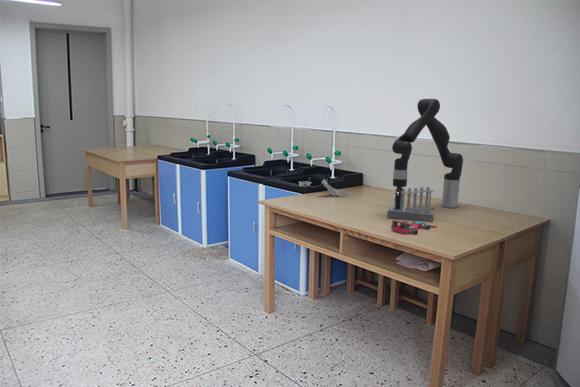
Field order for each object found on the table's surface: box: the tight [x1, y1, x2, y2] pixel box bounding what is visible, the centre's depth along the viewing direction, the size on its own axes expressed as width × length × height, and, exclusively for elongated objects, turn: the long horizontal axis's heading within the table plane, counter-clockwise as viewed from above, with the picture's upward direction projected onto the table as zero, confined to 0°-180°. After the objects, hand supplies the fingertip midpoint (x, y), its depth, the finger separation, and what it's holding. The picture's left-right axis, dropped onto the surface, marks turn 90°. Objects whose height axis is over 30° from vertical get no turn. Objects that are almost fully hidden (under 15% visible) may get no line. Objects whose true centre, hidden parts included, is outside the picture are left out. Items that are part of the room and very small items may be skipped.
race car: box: [390, 219, 437, 236], centre depth 243 cm, size 14×6×25 cm
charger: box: [393, 197, 403, 211], centre depth 267 cm, size 4×4×8 cm
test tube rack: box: [402, 186, 436, 210], centre depth 288 cm, size 25×4×13 cm, turn 113°
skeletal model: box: [321, 178, 357, 197], centre depth 325 cm, size 16×9×25 cm
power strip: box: [386, 206, 435, 223], centre depth 266 cm, size 10×24×4 cm, turn 71°
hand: (398, 208), depth 268 cm, fingers closed on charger, 3 cm apart
